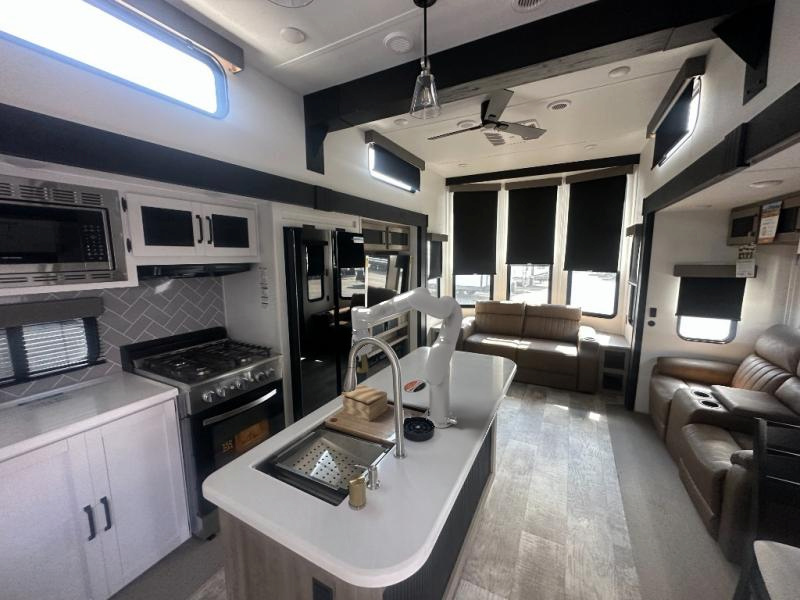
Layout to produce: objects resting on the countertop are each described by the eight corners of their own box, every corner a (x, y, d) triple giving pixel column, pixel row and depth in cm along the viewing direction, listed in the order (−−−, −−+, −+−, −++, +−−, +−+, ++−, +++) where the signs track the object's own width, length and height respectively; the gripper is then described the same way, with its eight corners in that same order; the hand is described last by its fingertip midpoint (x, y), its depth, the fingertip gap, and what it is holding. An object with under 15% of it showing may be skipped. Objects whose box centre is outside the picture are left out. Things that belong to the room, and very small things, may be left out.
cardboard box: (387, 409, 160) (386, 394, 158) (369, 421, 149) (368, 406, 147) (362, 400, 171) (361, 386, 169) (343, 411, 160) (342, 396, 158)
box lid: (387, 394, 158) (387, 392, 158) (368, 403, 147) (368, 401, 147) (361, 386, 169) (361, 384, 169) (341, 394, 158) (341, 392, 158)
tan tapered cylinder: (360, 373, 152) (359, 352, 150) (354, 370, 157) (353, 349, 155) (371, 370, 155) (369, 349, 154) (365, 367, 160) (363, 347, 159)
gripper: (353, 336, 144) (356, 373, 147) (377, 328, 157) (379, 362, 160) (342, 334, 149) (345, 370, 152) (366, 326, 162) (368, 360, 165)
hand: (362, 366), depth 156 cm, fingers closed on tan tapered cylinder, 4 cm apart
